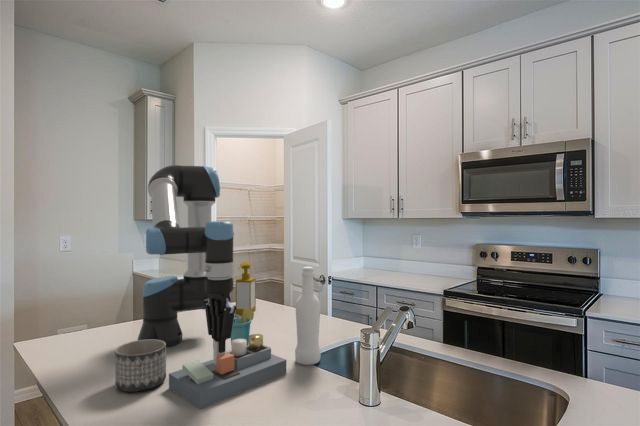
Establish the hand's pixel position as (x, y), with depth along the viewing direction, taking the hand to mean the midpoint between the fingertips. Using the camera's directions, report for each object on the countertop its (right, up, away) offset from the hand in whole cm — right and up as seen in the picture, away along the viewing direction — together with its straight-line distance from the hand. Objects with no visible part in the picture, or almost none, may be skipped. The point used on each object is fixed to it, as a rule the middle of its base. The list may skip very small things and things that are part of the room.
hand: (219, 362), depth 106 cm
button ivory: (+5, +1, +5) cm, 6 cm away
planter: (-21, -6, 0) cm, 22 cm away
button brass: (+9, +1, +9) cm, 12 cm away
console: (+3, -6, +2) cm, 7 cm away
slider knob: (+2, -1, -2) cm, 3 cm away
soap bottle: (-8, -6, +73) cm, 74 cm away
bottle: (+24, -6, +17) cm, 30 cm away
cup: (0, -6, +24) cm, 24 cm away
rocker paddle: (-4, 0, -5) cm, 7 cm away
